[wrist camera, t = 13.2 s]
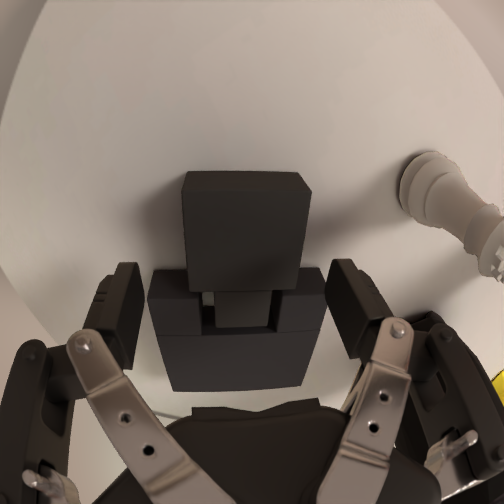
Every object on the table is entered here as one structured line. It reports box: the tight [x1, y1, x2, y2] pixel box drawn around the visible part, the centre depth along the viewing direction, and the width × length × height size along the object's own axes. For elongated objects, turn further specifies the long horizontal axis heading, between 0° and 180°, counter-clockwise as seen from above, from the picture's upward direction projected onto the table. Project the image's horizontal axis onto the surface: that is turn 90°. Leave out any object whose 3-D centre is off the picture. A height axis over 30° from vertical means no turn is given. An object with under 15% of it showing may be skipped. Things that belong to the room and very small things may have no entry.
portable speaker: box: [395, 311, 504, 504], centre depth 16 cm, size 9×9×20 cm
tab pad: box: [181, 171, 312, 328], centre depth 15 cm, size 6×8×2 cm, turn 177°
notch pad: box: [147, 268, 327, 392], centre depth 19 cm, size 10×10×2 cm
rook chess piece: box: [399, 152, 504, 283], centre depth 12 cm, size 4×4×8 cm
